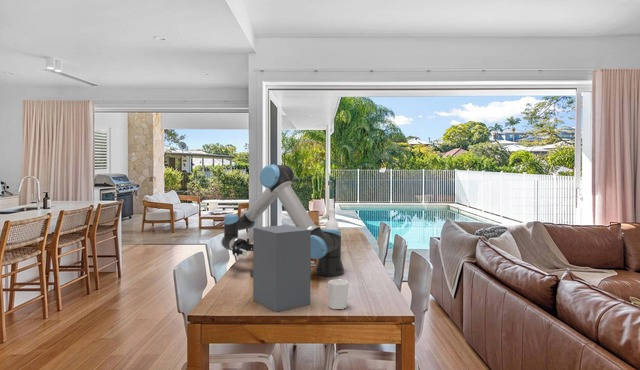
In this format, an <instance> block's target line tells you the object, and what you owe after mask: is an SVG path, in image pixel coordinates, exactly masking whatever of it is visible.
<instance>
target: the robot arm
mask: <svg viewBox="0 0 640 370" xmlns="http://www.w3.org/2000/svg"><path fill="white" fill-rule="evenodd" d="M259 180H260V184H261V185H262V186H263V187H264V188H266V189H265V190H264V191H263V192H262V193H261V195H260V196H258V198H257V199H256V200H255V201H254V202H253V203H252V205H251V206H249V207H248V209H247V210H246V211H245V213H243V215H241V216H239V215H238V214H235V213H231V214H229V213H228V214H225V215H224V220H223V224H224V225H223V226H224V227H223V233H224V234H223V235H224V236H223V237H222V238H221V241H220V244H221V246H222V247H223V248H224V249H225V250H229V251H232V255H236V256H237V257H238V256H239V257H240V256H242V257H243V256H244V257H248V252H253V243H248V241H247V240H245V239H243V238H240V237H239V231H242V230H243V231H244V230H250V229H252V228H254V227H255V225H256V221H257V220H258V219H259V218H260V217H261V216H262V215H263V213H265V211H266V210H267V209H269V207H270V206H271V205H272V204H273V202H275V200H276V199H277V198H278V200H279V202H280V203H281V205H282V206H283V208H284V210H285V211H286V213H287V214H288V216H289V218H290V219H291V221H292V222H293V224H294V227H299V228H304V229H309V230H311V259H312V260H317V262H316V264H315V268H314V272H315V274H316V275H317V276H321V277H339V276H343V275H344V274H345V269H344V268H345V267H344V264H343V262H342V257H341V256H342V255H341V254H342V233H341V232H342V231H341V230H340V229H338V230H333V229H326V228H321V226H319V225H316V224H315V223H314V220H313V219H312V218H311V216H310V215H309V212H307V210H306V208H305V207H304V205H303V204H302V202H301V200H300V199H299V197H298V195H297V194H296V192H295V191H294V189H293V187H292V185H293V182H294V180H295V173H294V170H293V169H292V168H291V167H290V166H289V165H286V164H268V165H265V166H264V167H262V169H261V171H260V174H259ZM342 274H343V275H342ZM338 275H339V276H338Z"/></svg>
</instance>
